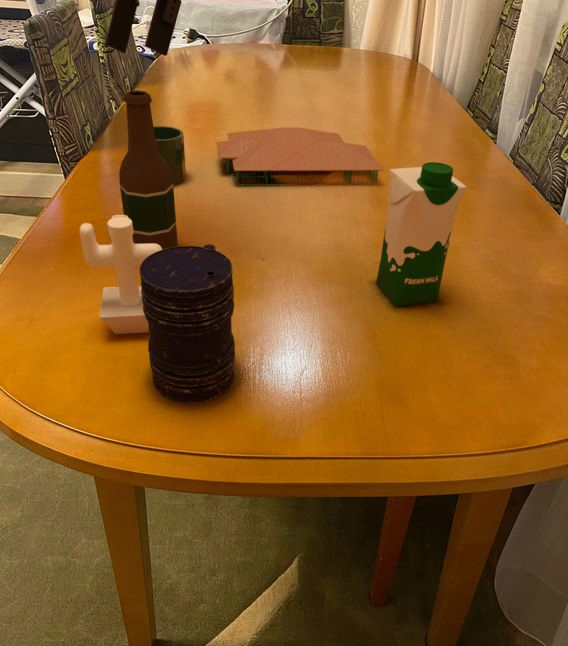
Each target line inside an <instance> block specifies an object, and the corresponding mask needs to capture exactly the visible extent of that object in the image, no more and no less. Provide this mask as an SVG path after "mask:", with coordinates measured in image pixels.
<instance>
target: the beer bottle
mask: <svg viewBox="0 0 568 646" xmlns="http://www.w3.org/2000/svg"><path fill="white" fill-rule="evenodd" d="M123 102H124V103H126V121H127V122H126V123H127V140H128V141H127V152H126V153H125V156H124V157H123V159H122V161H121V163H120V167H119V171H118V177H119V190H120V196H121V204H122V205H121V206H122V212H123V215H126V216H128V218H129V219H131V220H132V225H133V232H134V233H133V235H132V237H133V243H134V244H151V243H154V244H158V245H160V246H161V248H162V250H163V249H167V248H172V247H178V230H177V229H178V228H177V218H176V217H177V216H176V215H177V214H176V203H175V192H174V191H175V189H174V186H173V180H172V174H171V171H170V168H169V166H168V164H167V162H166V161H165V159H164V158H163V157H162V155H161V154H160V153H159V151H158V148H157V144H156V140H155V133H154V127H153V126H154V120H153V115H152V108H151V103H152V102H153V100H152V97H151V94H150V93H148V92H147V91H144V90H130V91H128V92H125V93H124V96H123Z"/></svg>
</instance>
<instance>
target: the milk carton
mask: <svg viewBox="0 0 568 646" xmlns="http://www.w3.org/2000/svg"><path fill="white" fill-rule="evenodd" d="M453 174H454V168H453V166H451V165H449V164H447V163H443V162H436V161H429V162H426V163H423V164H422V165H421V166H416V167H415V166H413V167H400V168H399V167H397V168H389V190H388V191H389V192H388V193H389V194H388V206H387V214H386V220H385V226H384V228H385V229H384V234H383V241H382V247H381V254H380V261H379V266H378V270H377V276H376V280H375V283H376V285H377V286H378V287H379V288H380V290H381V291H382V292H383V294H384V295H385V296H386V297H387V298H388V300H389V301H390V302H391V303H392V305H393V306H394V307H395V308H396V307H397V308H398V307H404V306H411V305H417V304H418V305H420V304H427V303H433V302H438V301H439V295H440V291H441V285H442V279H443V273H444V268H445V264H446V259H447V254H448V251H449V245H450V240H451V236H452V232H453V228H454V223H455V219H456V213H457V210H458V208H459V206H460V203H461V201H462V199H463V197H464V194H465V191H466V189H467V185H465V184H463V182H461V181H460V180H459V179H457V178H456V177H454V176H453Z"/></svg>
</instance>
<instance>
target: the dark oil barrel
mask: <svg viewBox="0 0 568 646" xmlns="http://www.w3.org/2000/svg"><path fill="white" fill-rule="evenodd" d="M138 270H139V278H140V286H141V296H142V302H143V312H144V314H145V318H146V320H147V321H148V327H149V332H148V334H149V338H148V341H147V342H148V343H147V350H148V351H147V352H148V359H149V366H150V370H151V374H152V382H153V383H152V384H153V386H154V389H155V390H156V391H157V393H158V394H159V395H161V396H162V397H164V399H165V398H166V399H167V400H170V401H172V402H176V403H180V404H201V403H206V402H210V401H212V400H215V399H218V398H219V397H221V396H223V395H224V394H225V393H227V392H228V390H230V389H231V387H232V386H233V384H234V382H235V363H236V343H235V337H234V334H233V332H232V327H233V326H232V317H233V314H234V310H235V301H234V300H235V287H234V278H233V271H234V270H233V263H232V260H231V259H230V258H229V257H227V255H225V254H224V253H222V252H220V251H218V250H216V245H215V244H211V243H209V244H204V245H203V246H197V245H181V246H180V245H179V246H177V247H172V248H167V249H163V250H160V251H157V252H155V253H153V254H151V255H150V256H148V257H147V258H146V259H144V260H143V262H142V263H141V265H140V266H139V269H138Z"/></svg>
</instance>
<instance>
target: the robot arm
mask: <svg viewBox="0 0 568 646" xmlns="http://www.w3.org/2000/svg"><path fill="white" fill-rule="evenodd" d="M182 2H183V0H156V1H155V3H154V9H153V12H152V16H151V20H150V24H149V27H148V31H147V35H146V39H145V43H144V47H146V48H148V49H149V50H151V51H154V52H156V53H158V54H160V55H161V56H164V57H167V56H168V53H169V51H170V46H171V42H172V38H173V35H174V31H175V27H176V23H177V20H178V16H179V13H180V9H181V5H182ZM140 5H141V4H140V0H115V3H114V7H113V11H112V14H111V18H110V23H109V26H108V30H107V35H106V38H105V43H104V45H105V46H107V47H109V48H111V49H114V50H116V51H118V52H120V53H122V54H126V52H127V49H128V48H127V47H128V45H129V40H130V38H131V37H130V36H131V33H132V28H133V25H134V21H135V17H136V13H137V9H138V7H140Z"/></svg>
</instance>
